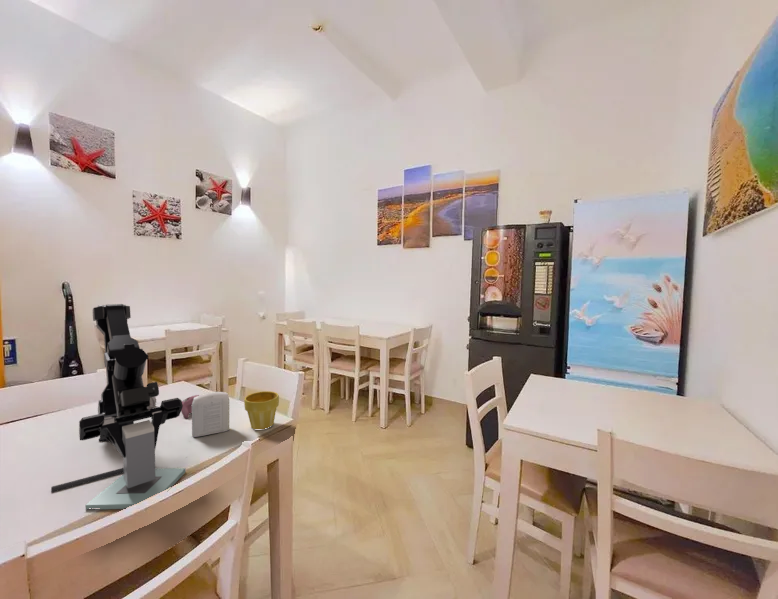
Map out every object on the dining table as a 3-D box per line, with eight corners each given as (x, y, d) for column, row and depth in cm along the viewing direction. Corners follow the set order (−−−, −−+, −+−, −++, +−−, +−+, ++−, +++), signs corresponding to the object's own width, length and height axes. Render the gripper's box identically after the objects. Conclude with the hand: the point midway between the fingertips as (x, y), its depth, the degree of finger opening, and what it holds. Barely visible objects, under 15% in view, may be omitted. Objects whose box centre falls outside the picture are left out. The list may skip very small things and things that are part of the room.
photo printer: (228, 425, 109) (228, 388, 108) (230, 431, 105) (230, 391, 105) (191, 433, 103) (190, 393, 102) (192, 439, 100) (191, 398, 99)
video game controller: (209, 412, 123) (205, 393, 125) (215, 409, 121) (210, 390, 122) (180, 421, 115) (175, 401, 117) (186, 418, 113) (181, 397, 114)
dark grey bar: (51, 493, 75) (51, 488, 75) (52, 490, 76) (52, 485, 76) (134, 470, 84) (134, 466, 84) (134, 468, 85) (134, 464, 85)
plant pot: (237, 429, 106) (236, 399, 106) (260, 417, 116) (260, 389, 115) (263, 435, 103) (263, 404, 102) (285, 422, 112) (285, 393, 112)
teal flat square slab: (85, 509, 69) (85, 504, 69) (130, 473, 82) (130, 468, 82) (151, 508, 70) (151, 503, 70) (185, 472, 83) (185, 467, 83)
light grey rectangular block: (123, 478, 76) (122, 426, 75) (150, 469, 80) (149, 419, 79) (127, 488, 73) (125, 434, 72) (155, 478, 76) (154, 426, 75)
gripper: (77, 381, 71) (84, 452, 64) (179, 365, 84) (194, 423, 77) (76, 407, 77) (82, 474, 70) (172, 388, 90) (185, 444, 83)
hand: (139, 452), depth 75 cm, fingers closed on light grey rectangular block, 5 cm apart
